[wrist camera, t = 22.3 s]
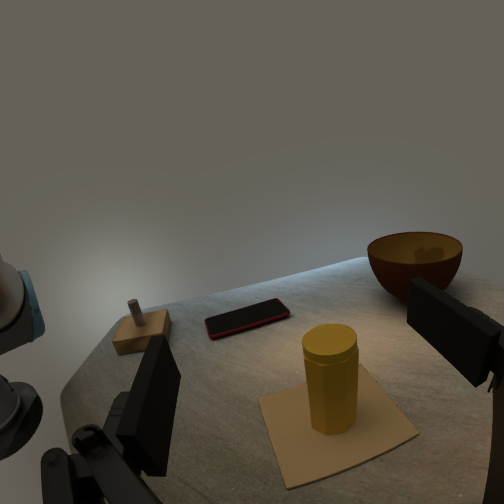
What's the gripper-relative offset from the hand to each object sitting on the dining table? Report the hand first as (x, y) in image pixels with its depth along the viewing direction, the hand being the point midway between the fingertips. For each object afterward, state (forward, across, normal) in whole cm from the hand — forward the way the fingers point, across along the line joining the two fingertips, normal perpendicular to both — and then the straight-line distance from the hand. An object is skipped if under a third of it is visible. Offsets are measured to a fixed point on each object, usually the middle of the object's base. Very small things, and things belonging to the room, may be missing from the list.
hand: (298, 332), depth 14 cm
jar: (+8, +4, -18) cm, 20 cm away
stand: (+36, -24, -18) cm, 47 cm away
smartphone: (+36, -3, -18) cm, 40 cm away
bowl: (+28, +27, -18) cm, 43 cm away
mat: (+8, +4, -18) cm, 20 cm away
